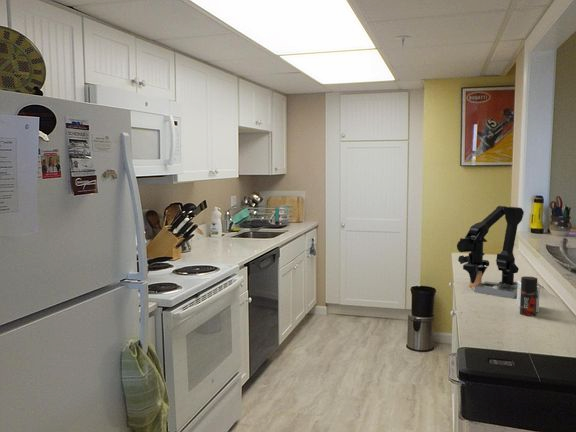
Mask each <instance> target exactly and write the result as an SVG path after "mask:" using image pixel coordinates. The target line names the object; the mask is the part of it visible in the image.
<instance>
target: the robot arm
mask: <svg viewBox="0 0 576 432" xmlns="http://www.w3.org/2000/svg"><path fill="white" fill-rule="evenodd" d="M524 213H525V211H524V210H523V208H522V207H518V206H517V207H515V206H507V205H506V206H505V205H498V206H497V207H495V209H494V210H493V211H492V212H491V213H489V214H488V215H487V216H486V217H485V218H484V219H483V220H482V221H479V222H477V223H474V224H473V225H471V226H470V227H469V230H468V232H467V233H466V235H465V236H464V237H463V238H462V237H460V238H459V241H458V242H457V244H456V249H457V251H458V252H460V253H468V252H469V253H468V255H459V256H458V259H457V261H458V262H459V263H460V265H462V264H463V265H462V269H463V270H464V271H466V272H467V273H468V275H469V280H470V279H471V283H474V282H475V279H476V277H477V274H478V271H482V277H483V275H484V274H485V272H486V271H487V269H488V267H490V261H489V260H488V259H484V256H485V252H484V243H486V242H488V240H487V239H486V238H485V237H486V236H487V234H488V233H489V232H490V231H489V230H490V228H491V227H492V226H494V225H495V223H497V222H498V221H499V220H500V219H501V218H503V216H504V219H505V221H506V228H505V233H504V238H503V239H504V240H503V245H502V251H500V253H497V255H496V259H495V262H496V266H497V270H498V271H501V280H500V281H499V282H498V283H501V284H508V285H515V284H516V283H517V282H516V281H514V280H515V279H514V278H515V274H517V273H519V270H520V269H519V267H518V266H517V265H516V261H515V259H516V258H515V255H514V248H515V241H516V238H517V237H516V236H517V229H518V226H519V224H520V223H521V222H522V221H523V217H524V216H525V215H524Z"/></svg>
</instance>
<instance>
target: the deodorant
mask: <svg viewBox="0 0 576 432" xmlns="http://www.w3.org/2000/svg"><path fill="white" fill-rule="evenodd" d="M520 281H521V297H520V308H519V314H520V315H522V316H523V317H524V316H525V317H536V315H537V312H536V300H537V285H538V277H535V276H521V280H520Z"/></svg>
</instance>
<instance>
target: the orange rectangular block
mask: <svg viewBox="0 0 576 432" xmlns="http://www.w3.org/2000/svg"><path fill="white" fill-rule="evenodd" d="M482 277H483V276H482V271H478V274H477V277H476V279H475V282H474V283H471V279H470V278H469V288H472V287H474V288H473V289H475V286H476V285H478V284H481V283H483V281H482V280H483V279H482Z"/></svg>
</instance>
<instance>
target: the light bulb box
mask: <svg viewBox="0 0 576 432" xmlns="http://www.w3.org/2000/svg"><path fill="white" fill-rule="evenodd" d="M516 283H517V284H516V286H517V297H516V306H517V308H519V309H520V297H521V280H517V282H516ZM540 289H541V287H540V286H539V285H538V284H537V300H536V313H539V311H540Z"/></svg>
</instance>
